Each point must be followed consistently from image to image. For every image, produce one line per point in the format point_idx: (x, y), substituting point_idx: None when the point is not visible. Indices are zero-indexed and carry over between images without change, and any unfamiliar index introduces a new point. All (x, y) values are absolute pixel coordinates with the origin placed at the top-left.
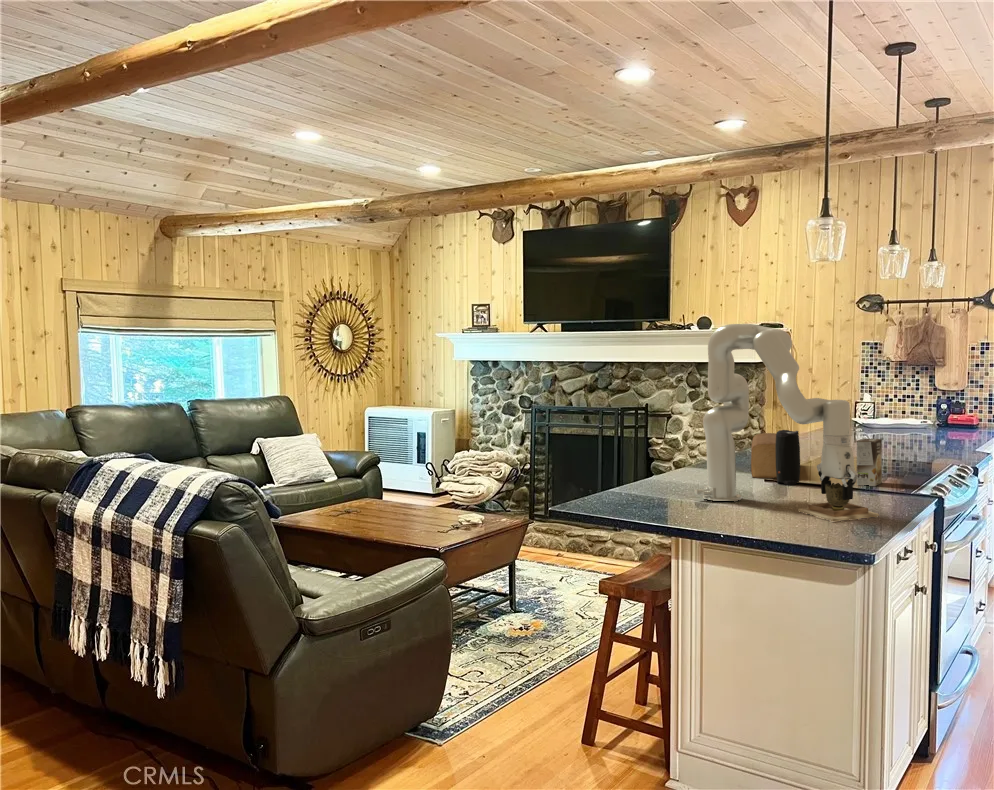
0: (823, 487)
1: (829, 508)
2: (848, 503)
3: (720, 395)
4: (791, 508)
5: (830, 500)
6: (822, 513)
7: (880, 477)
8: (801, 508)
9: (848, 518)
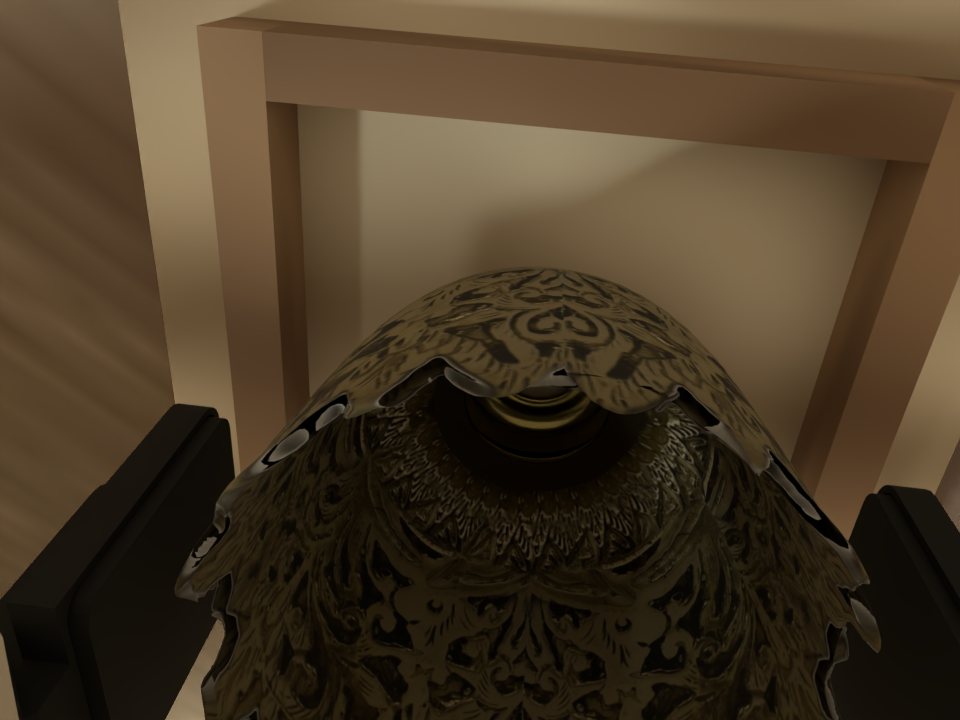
0: (192, 663)
1: (342, 330)
2: (458, 84)
3: None
4: (15, 515)
5: (548, 612)
6: None
7: None
8: None
9: None
